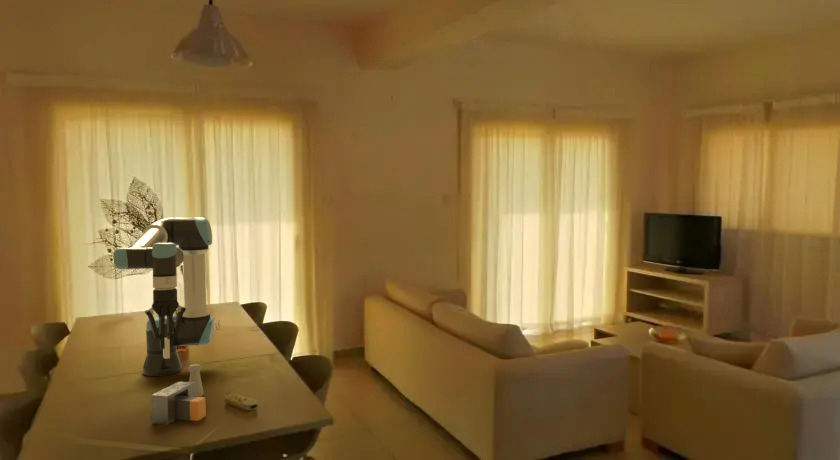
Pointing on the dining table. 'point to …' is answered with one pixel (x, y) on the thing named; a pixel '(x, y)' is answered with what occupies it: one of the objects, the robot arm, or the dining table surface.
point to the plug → (190, 407)
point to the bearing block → (169, 401)
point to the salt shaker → (196, 379)
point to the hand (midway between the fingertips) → (166, 357)
